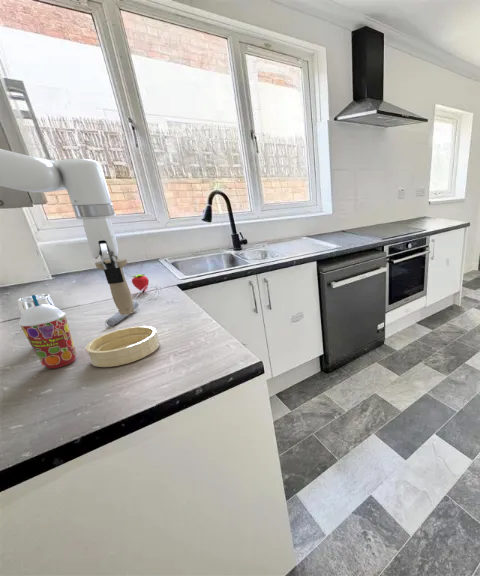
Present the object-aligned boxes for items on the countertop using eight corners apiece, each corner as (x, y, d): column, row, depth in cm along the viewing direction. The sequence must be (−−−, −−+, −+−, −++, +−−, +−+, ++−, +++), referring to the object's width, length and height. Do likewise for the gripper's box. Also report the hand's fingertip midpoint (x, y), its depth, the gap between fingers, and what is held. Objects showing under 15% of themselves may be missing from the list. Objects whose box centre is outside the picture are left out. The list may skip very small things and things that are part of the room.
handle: (110, 314, 86) (92, 262, 81) (137, 307, 91) (122, 257, 86) (116, 318, 83) (98, 264, 78) (144, 310, 88) (129, 259, 83)
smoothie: (34, 375, 79) (1, 303, 73) (45, 361, 86) (15, 294, 80) (78, 365, 84) (50, 296, 77) (84, 352, 90) (60, 287, 84)
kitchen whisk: (97, 330, 104) (91, 312, 102) (151, 296, 136) (147, 282, 134) (117, 328, 105) (111, 311, 103) (166, 295, 137) (163, 281, 135)
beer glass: (39, 350, 92) (19, 303, 87) (32, 344, 95) (13, 299, 90) (70, 340, 97) (53, 296, 93) (63, 335, 101) (46, 292, 96)
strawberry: (137, 295, 136) (131, 274, 132) (133, 292, 140) (127, 271, 137) (153, 292, 140) (147, 271, 137) (149, 288, 145) (143, 268, 141)
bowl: (88, 376, 79) (82, 359, 77) (94, 351, 91) (88, 336, 89) (161, 355, 88) (157, 340, 86) (158, 335, 100) (154, 321, 98)
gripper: (79, 210, 82) (101, 276, 88) (69, 215, 69) (95, 291, 75) (115, 209, 86) (134, 271, 92) (112, 213, 73) (134, 285, 79)
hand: (116, 279), depth 84 cm, fingers closed on handle, 5 cm apart
